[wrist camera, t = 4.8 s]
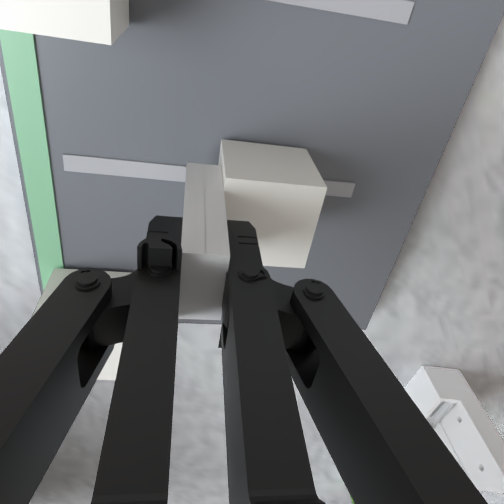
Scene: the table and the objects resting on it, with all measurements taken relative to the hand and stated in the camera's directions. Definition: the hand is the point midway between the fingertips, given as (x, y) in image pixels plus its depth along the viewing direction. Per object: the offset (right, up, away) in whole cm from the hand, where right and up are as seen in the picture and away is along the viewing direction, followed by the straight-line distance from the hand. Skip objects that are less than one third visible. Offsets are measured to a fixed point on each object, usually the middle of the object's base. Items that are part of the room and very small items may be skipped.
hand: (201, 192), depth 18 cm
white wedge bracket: (+17, -14, +18) cm, 28 cm away
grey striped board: (+1, +2, +4) cm, 4 cm away
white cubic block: (+2, +1, +2) cm, 3 cm away
